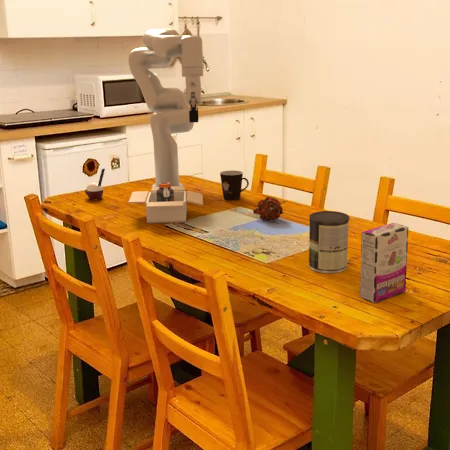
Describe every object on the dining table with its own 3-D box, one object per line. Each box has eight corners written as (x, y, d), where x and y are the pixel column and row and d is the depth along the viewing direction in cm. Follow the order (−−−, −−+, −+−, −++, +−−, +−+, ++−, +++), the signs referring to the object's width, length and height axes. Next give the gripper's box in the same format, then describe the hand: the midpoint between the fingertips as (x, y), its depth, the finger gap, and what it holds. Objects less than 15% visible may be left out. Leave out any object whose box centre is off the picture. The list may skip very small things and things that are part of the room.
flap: (187, 190, 226) (202, 193, 226) (187, 191, 226) (202, 195, 227) (186, 200, 212) (202, 204, 212) (186, 201, 212) (202, 205, 212)
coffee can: (300, 268, 169) (301, 217, 165) (321, 257, 177) (322, 208, 173) (334, 276, 163) (336, 223, 159) (354, 265, 171) (356, 214, 167)
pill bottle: (173, 217, 218) (172, 184, 215) (156, 217, 218) (154, 184, 215) (175, 212, 223) (174, 180, 220) (158, 212, 224) (156, 181, 220)
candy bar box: (389, 286, 156) (393, 221, 151) (406, 292, 152) (410, 226, 148) (357, 297, 150) (360, 230, 145) (374, 304, 146) (377, 235, 141)
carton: (135, 207, 233) (134, 187, 231) (187, 205, 234) (186, 186, 232) (127, 229, 207) (126, 206, 205) (185, 227, 208) (184, 205, 205)
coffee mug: (216, 197, 245) (216, 171, 242) (237, 194, 249) (236, 169, 246) (229, 204, 235) (229, 177, 232) (250, 201, 239) (250, 175, 236)
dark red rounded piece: (277, 229, 209) (258, 225, 219) (293, 211, 211) (274, 208, 222) (262, 210, 206) (244, 208, 216) (279, 192, 208) (260, 190, 218)
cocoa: (83, 199, 248) (78, 169, 245) (97, 195, 252) (93, 166, 249) (96, 202, 241) (92, 171, 238) (110, 198, 245) (106, 168, 242)
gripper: (203, 73, 218) (204, 123, 223) (202, 70, 235) (204, 117, 239) (181, 73, 218) (183, 124, 223) (182, 71, 234) (184, 117, 239)
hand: (194, 120), depth 231 cm, fingers open, 9 cm apart
